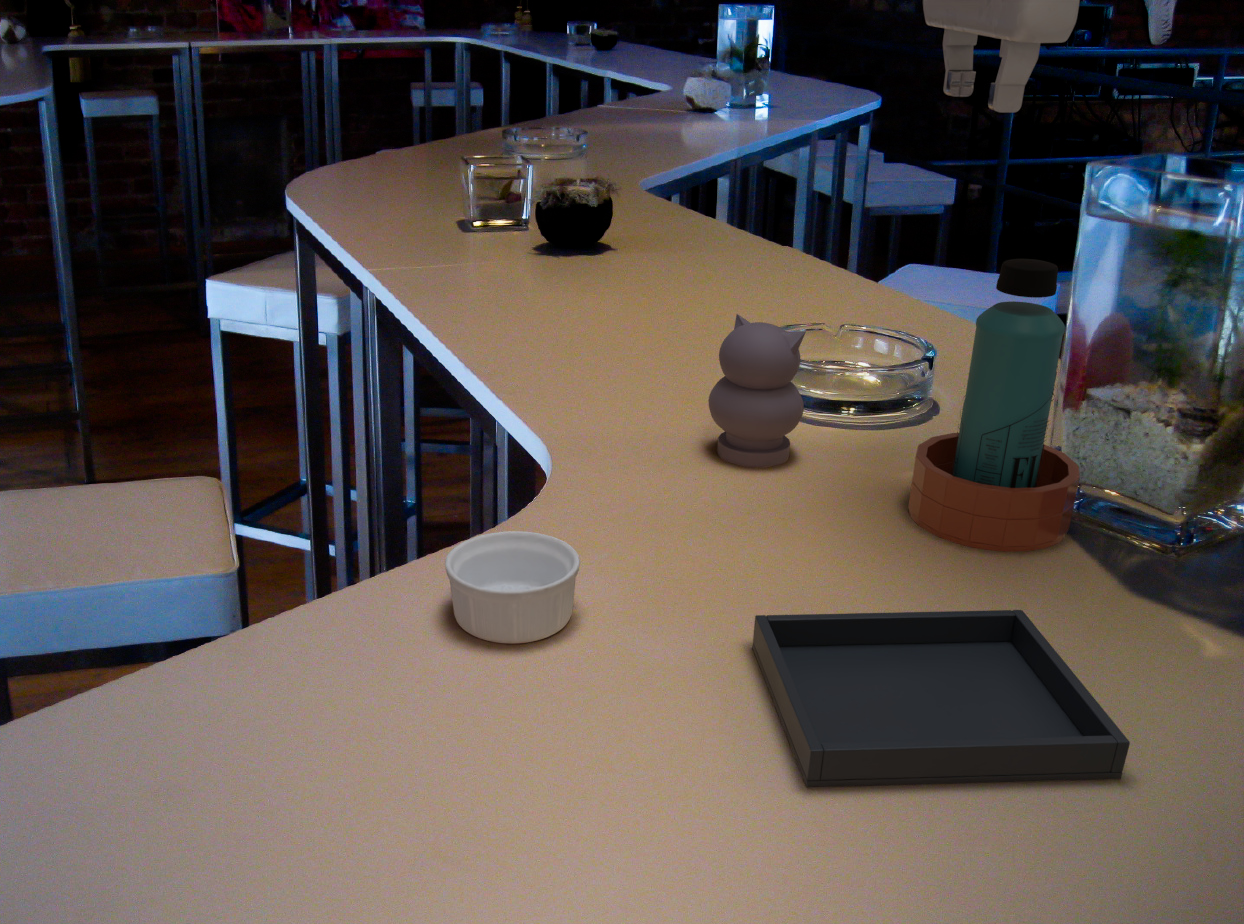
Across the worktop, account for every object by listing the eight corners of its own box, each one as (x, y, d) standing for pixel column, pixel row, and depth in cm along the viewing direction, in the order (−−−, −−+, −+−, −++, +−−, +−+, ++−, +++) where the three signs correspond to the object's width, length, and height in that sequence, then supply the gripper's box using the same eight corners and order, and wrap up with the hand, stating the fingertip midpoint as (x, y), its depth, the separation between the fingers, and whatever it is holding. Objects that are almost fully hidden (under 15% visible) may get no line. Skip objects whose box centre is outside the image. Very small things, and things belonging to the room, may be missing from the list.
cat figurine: (686, 450, 109) (693, 320, 104) (744, 430, 113) (754, 304, 108) (759, 480, 103) (771, 343, 98) (817, 457, 108) (831, 325, 102)
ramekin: (476, 662, 76) (475, 602, 74) (428, 600, 84) (425, 544, 82) (601, 632, 80) (603, 574, 78) (544, 575, 87) (545, 520, 85)
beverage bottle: (1003, 538, 92) (1052, 277, 83) (927, 510, 96) (966, 260, 88) (1047, 514, 96) (1098, 263, 87) (972, 488, 100) (1013, 247, 92)
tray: (1015, 642, 79) (1022, 609, 78) (1121, 780, 66) (1130, 742, 65) (751, 648, 78) (755, 614, 77) (806, 789, 65) (810, 750, 64)
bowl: (1029, 486, 102) (1039, 431, 100) (1094, 551, 91) (1107, 490, 89) (889, 488, 101) (896, 433, 99) (938, 553, 91) (947, 492, 88)
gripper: (1129, -124, 71) (1084, 122, 77) (1003, -109, 90) (974, 88, 96) (1023, -124, 71) (987, 122, 77) (918, -110, 90) (895, 88, 96)
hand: (979, 103), depth 87 cm, fingers open, 8 cm apart
